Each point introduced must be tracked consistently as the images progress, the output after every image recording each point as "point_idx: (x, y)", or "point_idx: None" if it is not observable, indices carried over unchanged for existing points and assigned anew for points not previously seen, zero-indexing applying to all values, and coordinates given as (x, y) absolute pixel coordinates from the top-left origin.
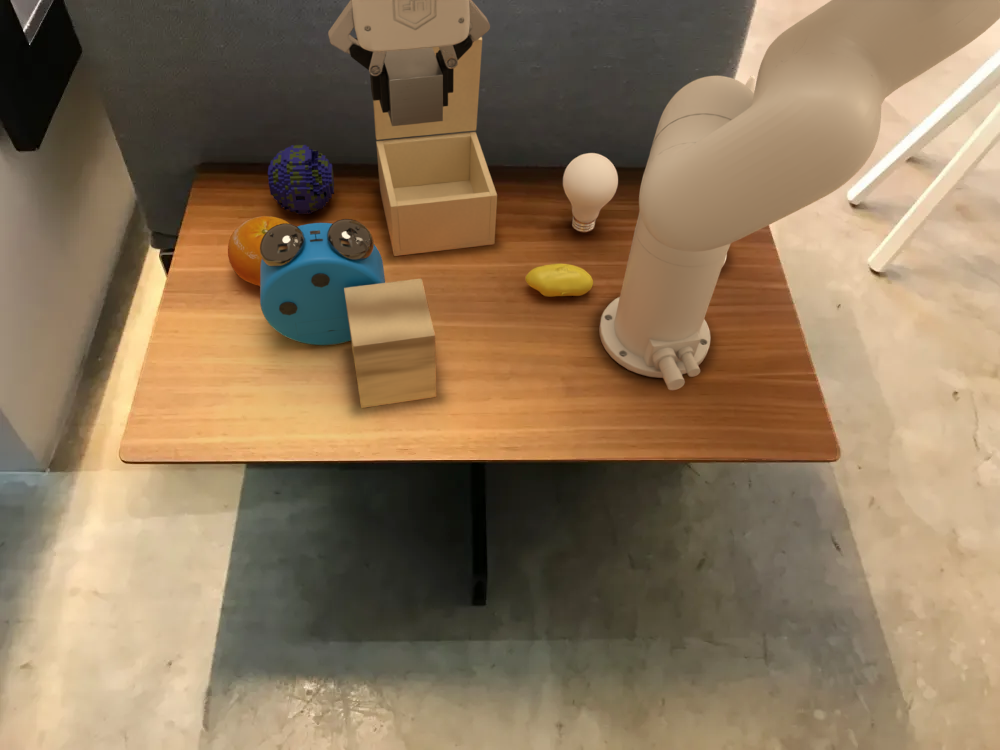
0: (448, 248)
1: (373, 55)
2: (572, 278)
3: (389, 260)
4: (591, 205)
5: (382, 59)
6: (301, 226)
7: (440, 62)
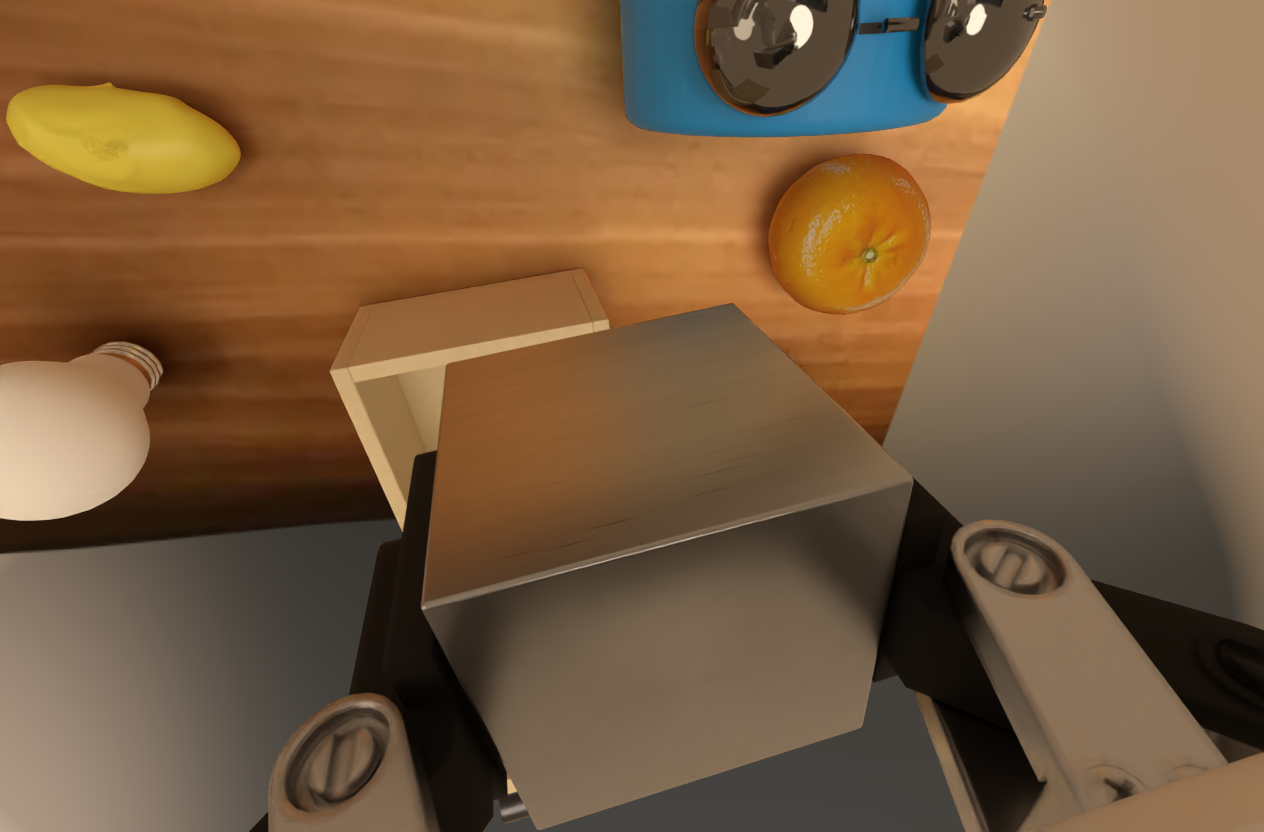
0: (465, 289)
1: (1151, 680)
2: (61, 110)
3: (592, 256)
4: (29, 361)
5: (1030, 658)
6: (898, 114)
7: (461, 733)
